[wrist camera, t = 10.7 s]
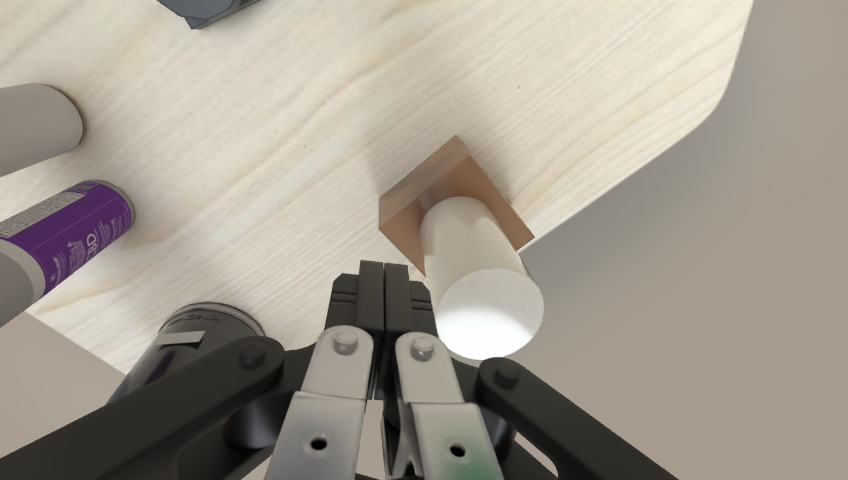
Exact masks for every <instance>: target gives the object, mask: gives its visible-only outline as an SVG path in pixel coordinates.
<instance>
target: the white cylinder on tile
mask: <svg viewBox="0 0 848 480" xmlns="http://www.w3.org/2000/svg"><path fill="white" fill-rule="evenodd" d="M419 239H420V245H421V251H422V256H423V262H424V268H425V273H426V279H427V284H428V290H429V291H430V295H431V301H432V302H431V303H432V306H433V311H434V317H435V322H436V328H437V333H438V336H439V338H440V340H441V341H442V342H443V343H444V344H445V345H446V347H447V348H449V349H450V350H451V351H452V352H454V353H456V354H458V355H460V356H463V357H466V358H469V359H475V360H485V359H488V358H491V357H504V356H507V355H509V354H511V353H513V352H515V351H517V350H519V349H520V348H522V347H523V346H524V345H526V344H527V343H528V342H529V341H530V340H531V339H532V338H533V337H534V335H535V334H536V333H537V331H538V329H539V327H540V325H541V323H542V320H543V315H544V299H543V296H542V293H541V291H540V289H539V288H538V286H537V284H536V283H535V281H534V279H533V278H532V276H531V274H530V273H529V271H528V270H527V268H526V266H525V265H524V263H523V261H522V260H521V258H520V256H519V255H518V253H517V251H516V250H515V248H514V247H513V245H512V243H511V242H510V240H509V238H508V237H507V235H506V233H505V232H504V230H503V229H502V227H501V225H500V224H499V222H498V220H497V219H496V217H495V215H494V214H493V212H492V211H491V210H490V208H489V207H488V206H487V205H485V204H484V203H483V202H481V201H479V200H477V199H474V198H471V197H465V196H457V197H451V198H448V199H445V200H443V201H441V202H439V203H437V204H436V205H435V206H433V207H432V208H431V209H430V210H429V211H428V212H427V214H426V215H425V217H424V218H423V220H422V223H421V226H420V231H419Z"/></svg>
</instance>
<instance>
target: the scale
mask: <svg viewBox="0 0 848 480" xmlns="http://www.w3.org/2000/svg"><path fill="white" fill-rule="evenodd" d="M157 1H159V2H160V3H161V4H163V5H164V6H166V7H167V8H168V9H170V10H171V11H173V12H174V13H175V14H177V15H178V16H181V17H184V18H185V19H186V21H187V23H188V24H189V26H190V28H191V29H202V28H204V27H206V26H208V25H210V24H212V23H214V22H216V21H218V20H220V19H222V18H224V17H226V16H229V15H231V14H233V13H235V12H237V11H239V10H241V9H243V8H245V7H247V6H249V5H251V4H253V3H256V2H258V1H260V0H157Z"/></svg>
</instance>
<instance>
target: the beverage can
mask: <svg viewBox="0 0 848 480" xmlns="http://www.w3.org/2000/svg"><path fill="white" fill-rule="evenodd" d="M82 132H83V126H82V120H81V117H80V115H79V113H78V111H77V109H76V108H75V106H74V105H73V104H72V102H71V101H70V100H68V99H67V98H66V97H65V96H64V95H63V94H62V93H60V92H58V91H57V90H55V89H54V88H51V87H48V86H46V85H42V84H25V85H18V86H12V87H5V88H0V177H2V176H5V175H7V174H10V173H12V172H15V171H18V170H20V169H23V168H25V167H28V166H31V165H33V164H36V163H39V162H41V161H44V160H46V159H49V158H52V157H54V156H57V155H59V154H62V153H65V152H67V151H70V150H72V149H73V148H74V147H75V146H77V145H78V143H79V141H80V139H81V138H82Z"/></svg>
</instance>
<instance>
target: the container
mask: <svg viewBox="0 0 848 480" xmlns="http://www.w3.org/2000/svg"><path fill="white" fill-rule="evenodd" d="M134 217H135V213H134V208H133V205H132V203H131V201H130V200H129V198H128V197H127V196H126V195H125V194H124V193H123V192H122V191H121V190H120V189H119V188H117V187H115V186H114V185H112V184H109V183H107V182H104V181H99V180H88V181H84V182H81V183H79V184H77V185H75V186H73V187H71V188H69V189H67V190H64V191H62V192H60V193H58V194H56V195H54V196H52V197H50V198H48V199H46V200H44V201H42V202H40V203H38V204H36V205H34V206H32V207H30V208H28V209H26V210H24V211H22V212H20V213H18V214H16V215H14V216H12V217H10V218H8V219H6V220H4V221H2V222H0V328H1V327H2V326H4V325H5V324H6V323H8V322H9V321H10V320H12V319H13V318H14V317H16V316H17V315H19V314H20V313H21V312H23V311H24V310H25V309H27V308H28V307H30V306H31V305H32V304H34V303H35V302H37V301H38V300H39V299H41V298H42V297H43V296H44V295H46V294H47V293H48V292H50V291H51V290H52V289H53V288H55V287H56V286H57V285H58V284H60V283H61V282H62V281H64V280H65V279H66V278H67V277H69V276H70V275H71V274H73V273H74V272H75V271H76V270H78V269H79V268H80V267H81V266H83V265H84V264H85V263H87V262H88V261H89V260H90V259H92V258H93V257H94V256H96V255H97V254H98V253H99V252H101V251H102V250H103V249H104V248H106V247H107V246H108V245H110V244H111V243H112V242H113V241H115V240H116V239H117V238H118V237H120V236H121V235H122V234H124V233H125V232H126V231H127V230H128V229H129V228H130V227H131V226H132V224H133V222H134Z"/></svg>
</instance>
